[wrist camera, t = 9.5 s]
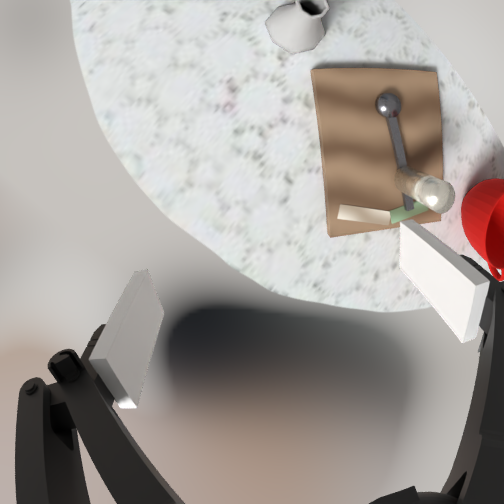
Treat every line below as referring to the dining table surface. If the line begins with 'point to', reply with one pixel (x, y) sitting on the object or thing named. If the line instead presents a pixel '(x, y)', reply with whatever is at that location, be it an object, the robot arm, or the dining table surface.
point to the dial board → (374, 145)
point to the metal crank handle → (407, 178)
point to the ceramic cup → (486, 222)
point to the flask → (298, 25)
